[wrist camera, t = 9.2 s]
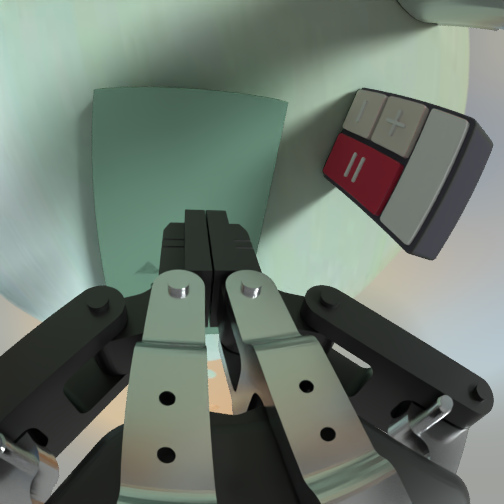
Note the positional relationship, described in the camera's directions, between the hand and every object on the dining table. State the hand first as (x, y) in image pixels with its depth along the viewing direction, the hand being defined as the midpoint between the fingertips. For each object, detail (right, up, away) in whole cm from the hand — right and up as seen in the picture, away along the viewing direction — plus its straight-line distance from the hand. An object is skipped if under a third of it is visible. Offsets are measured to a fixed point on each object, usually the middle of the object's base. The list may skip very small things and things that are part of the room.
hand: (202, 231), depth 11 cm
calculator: (+12, +12, +17) cm, 24 cm away
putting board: (-6, +2, +18) cm, 19 cm away
